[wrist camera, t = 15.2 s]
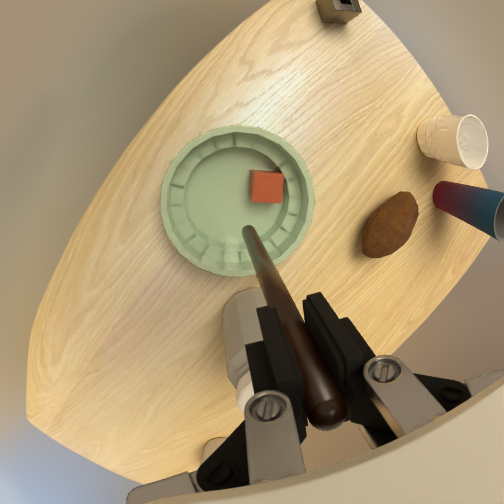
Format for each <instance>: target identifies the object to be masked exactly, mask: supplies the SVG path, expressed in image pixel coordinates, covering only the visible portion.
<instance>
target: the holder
mask: <svg viewBox="0 0 504 504" xmlns="http://www.w3.org/2000/svg"><path fill="white" fill-rule="evenodd" d="M316 3H317V6H318V9H319V12H320V16H321V19H322V22H323V23H348V22H349V21H351V20H352V19H353V18H355V17H356V16H358V15H359V14H360V13H362V11H361V8H360V5H359V2H358V0H317V1H316Z"/></svg>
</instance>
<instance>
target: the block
mask: <svg viewBox="0 0 504 504" xmlns="http://www.w3.org/2000/svg"><path fill="white" fill-rule="evenodd" d="M283 181H284V174H283V173H280V172H278V171H266V170H250V180H249V193H248V197H249V198H250V200H251V201H252V202H264V203H282V192H283Z"/></svg>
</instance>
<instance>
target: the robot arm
mask: <svg viewBox="0 0 504 504" xmlns="http://www.w3.org/2000/svg"><path fill="white" fill-rule="evenodd" d="M256 311H257V316H258V320H259V324H260V329H261V333H262V337H263V340H262V341H258V342H253V343H249V344H245V349H246V355H247V360H248V365H249V370H250V375H251V380H252V385H253V390H254V395H253V396H252V397H251V398H250V399H249V400H248V401H247V403H246V405H245V409H244V415H245V420H244V421H243V422H242V423H241V424H240V425H239V426H238V427H237V428H236V429H235V431H234V432H233V433H232V434H231V435H230V436H229V437H228V438H227V439H226V440H225V441H224V442H223V443H222V444H221V445H220V446H219V447H218V448H217V449H216V450H215V451H214V452H213V453H212V454H211V455H210V456H209V457H208V458H207V459H206V460H205V461H204V462H203V463H202V464H201V466H200V467H199V468H198V470H196V471H194V472H191V473H188V472H187V471H186V472H183V473H181V474H178V475H175V476H172V477H169V478H165V479H162V480H159V481H156V482H152V483H149V484H145V485H142V486H138V487H136V488H134V489H132V490H131V491H130V492H129V493H128V496H127V498H126V504H504V369H501V370H497V371H494V372H491V373H488V374H484V375H481V376H478V377H474V378H470V379H467V380H465V381H464V383H461V382H458V381H455V380H449V379H443V378H437V377H432V376H426V375H420V374H415V373H412V372H411V371H410V369H409V368H408V367H407V366H406V365H405V364H404V363H403V362H402V361H401V360H400V359H399V358H397V357H394V356H391V355H380V356H376V355H375V354H374V353H373V351H372V350H371V348H370V347H369V346H368V344H367V343H366V341H365V340H364V339H363V337H362V336H361V334H360V333H359V332H358V330H357V329H356V327H355V326H354V325H353V323H352V322H351V321H350V319H349V318H347V317H345V318H342V319H339V318H338V316H337V315H336V313H335V312H334V311H333V309H332V308H331V306H330V305H329V303H328V302H327V300H326V299H325V298H324V296H323V295H322V293H321V292H317V293H314V294H310V295H307V297H306V299H305V300H303V311H304V319H305V325H306V327H307V329H308V331H309V333H310V335H311V337H312V339H313V340H314V342H315V344H316V346H317V348H318V350H319V352H320V354H321V356H322V358H323V360H324V362H325V364H326V366H327V368H328V370H329V372H330V374H331V376H332V378H333V380H334V382H335V384H336V386H337V387H338V389H339V391H340V392H341V394H342V396H343V398H344V400H345V402H346V405H347V411H348V412H347V416H346V419H345V421H344V422H346V421H348V420H350V421H351V422H353V423H357V424H358V427H359V429H360V431H361V433H362V434H363V436H364V437H365V439H366V441H367V443H368V444H369V446H370V448H371V449H372V450H371V451H369V452H366V453H364V454H361V455H358V456H356V457H353V458H350V459H348V460H345V461H342V462H339V463H336V464H333V465H330V466H327V467H323V468H320V469H317V470H314V471H310V472H307V473H306V469H305V464H304V460H303V455H302V451H301V446H300V445H301V443H302V442H303V440H304V439H305V438H306V436H307V435H306V426H308V420H307V415H306V412H305V409H304V402H305V394H304V386H303V379H302V374H301V371H300V368H299V365H298V363H297V360H296V358H295V355H294V353H293V350H292V348H291V345H290V342H289V340H288V337H287V335H286V332H285V330H284V327H283V325H282V322H281V320H280V317H279V314H278V312H277V309H276V307H274V308H270V305H267V306H263V307H259V308H256Z"/></svg>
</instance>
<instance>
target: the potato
mask: <svg viewBox="0 0 504 504" xmlns="http://www.w3.org/2000/svg"><path fill="white" fill-rule="evenodd" d="M418 214H419V213H418V205H417V203H416V200H415V198H414V197H413V195H412V194H411V193H410V192H399V193H397V194H396V195H394V196H393V197H391V198H390V199H389V200H387V201H386V202H385V203H384V204H383V205H382V206H381V207H380V208H379V209H378V210H377V211H376V212H375V213H374V214H373V216H372V217H371V218H370V219H369V221H368V223H367V224H366V226H365V229H364V232H363V236H362V252H363V254H364V255H366V256H367V257H370V258H381V257H384V256H387V255H390V254H392V253H394V252H395V251H396V250H398V249H399V248H400V247H401V246H403V245H404V244H405V243H406V241H407V240H408V239H409V237H410V235H411V233H412V230H413V228H414V225H415V223H416V221H417V218H418Z"/></svg>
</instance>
